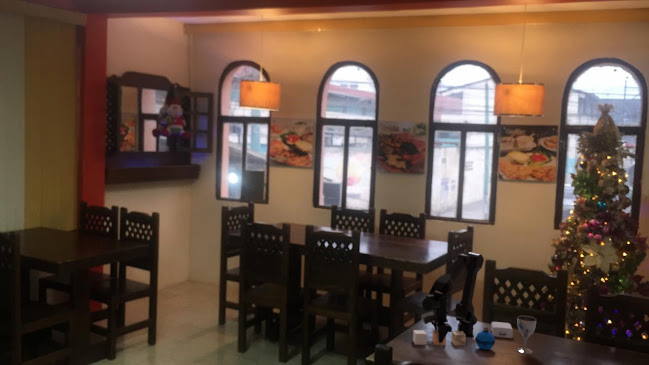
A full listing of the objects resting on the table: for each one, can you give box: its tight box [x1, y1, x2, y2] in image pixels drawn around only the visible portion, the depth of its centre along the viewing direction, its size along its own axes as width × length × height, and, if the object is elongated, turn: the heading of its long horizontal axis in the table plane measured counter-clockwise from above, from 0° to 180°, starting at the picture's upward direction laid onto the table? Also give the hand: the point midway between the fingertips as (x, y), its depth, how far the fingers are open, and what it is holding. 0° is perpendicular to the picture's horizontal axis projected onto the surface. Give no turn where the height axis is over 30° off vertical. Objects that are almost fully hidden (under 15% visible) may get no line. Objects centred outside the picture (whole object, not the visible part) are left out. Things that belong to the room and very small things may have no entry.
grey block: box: [412, 329, 428, 346], centre depth 277 cm, size 5×5×5 cm
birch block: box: [450, 330, 466, 346], centre depth 278 cm, size 5×5×5 cm
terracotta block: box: [431, 329, 447, 346], centre depth 278 cm, size 5×5×5 cm
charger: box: [490, 321, 514, 339], centre depth 297 cm, size 5×9×15 cm
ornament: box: [474, 327, 496, 351], centre depth 272 cm, size 9×9×10 cm
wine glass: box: [515, 315, 537, 355], centre depth 272 cm, size 8×8×15 cm
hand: (438, 340), depth 278 cm, fingers closed on terracotta block, 5 cm apart
